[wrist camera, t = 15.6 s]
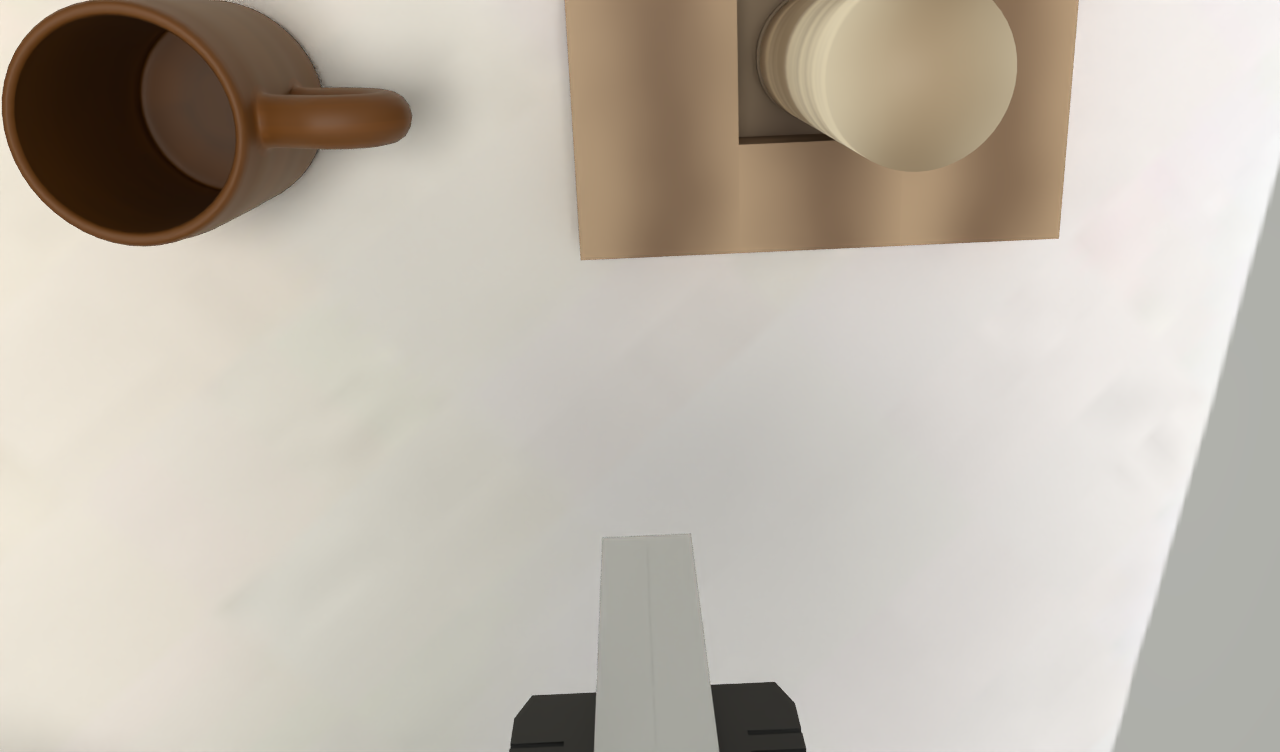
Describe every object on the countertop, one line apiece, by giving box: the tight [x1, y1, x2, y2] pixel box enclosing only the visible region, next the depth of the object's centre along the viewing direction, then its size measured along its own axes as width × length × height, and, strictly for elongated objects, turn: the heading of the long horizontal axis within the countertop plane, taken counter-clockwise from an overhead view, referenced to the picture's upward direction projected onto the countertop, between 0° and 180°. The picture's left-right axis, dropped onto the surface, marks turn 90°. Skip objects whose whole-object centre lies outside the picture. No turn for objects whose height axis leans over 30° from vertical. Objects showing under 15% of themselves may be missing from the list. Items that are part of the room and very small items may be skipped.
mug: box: [2, 0, 412, 246], centre depth 37 cm, size 12×8×9 cm, turn 91°
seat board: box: [565, 0, 1079, 260], centre depth 39 cm, size 18×14×3 cm
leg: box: [756, 0, 1017, 172], centre depth 33 cm, size 5×5×16 cm
